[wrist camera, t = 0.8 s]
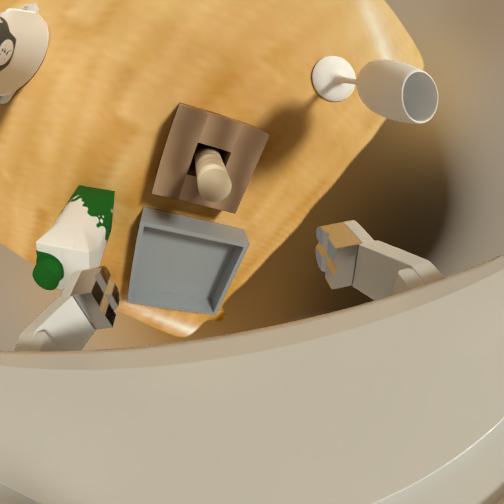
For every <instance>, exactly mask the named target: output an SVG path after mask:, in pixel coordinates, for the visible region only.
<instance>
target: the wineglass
mask: <svg viewBox="0 0 504 504" xmlns="http://www.w3.org/2000/svg"><path fill="white" fill-rule="evenodd" d="M312 81H313V85H314V87H315V89H316V91H317V92H318V94H319V95H320V96H322V97H323V98H324V99H326V100H329V101H333V102H338V101H342V100H345V99H346V98H348V97H349V96H350V95H351V94H352V92H353V90H354V88H355V85H357V90H358V94H359V96H360V98H361V100H362V101H363V103H364V104H365V105H366V106H367V107H368V108H369V109H370V110H372V111H373V112H375V113H377V114H379V115H381V116H383V117H386V118H388V119H392V120H396V121H400V122H406V123H418V124H421V123H425V122H427V121H429V120H430V119H431V118H432V117H433V115H434V114H435V112H436V109H437V106H438V91H437V87H436V84H435V83H434V80H433V79H432V78H431V76H430V75H429V74H427V73H426V72H425V71H423V70H421V69H419V68H417V67H414V66H412V65H409V64H407V63H404V62H400V61H395V60H375V61H372V62H369V63H368V64H366V65H365V66H364V67H363V68H362V69H361V70H360V72H359V74H358V77H357V79H356V77H355V73H354V70H353V68H352V67H351V65H350V64H349V63H348V62H347V61H346V60H344V59H343V58H341V57H337V56H327V57H324V58H322V59H321V60H319V61H318V62H317V64H316V65H315V67H314V69H313V73H312Z"/></svg>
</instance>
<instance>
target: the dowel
mask: <svg viewBox="0 0 504 504" xmlns="http://www.w3.org/2000/svg"><path fill="white" fill-rule="evenodd" d="M194 156H195V166H196V175H197V183H198V191H199V193H200V195H201V197H202V198H204V199H205V200H207V201H210V202H218V201H221V200H223V199H225V198H226V197H227V196H228V195H229V193H230V191H231V188H232V184H231V180H230V178H229V175H228V173H227V170H226V168H225V166H224V163H223V161H222V158H221V156H220V153H219V151H218V149H217V148H215V147H212V146H209V145H205V144H200V145H199V146H198V147H197V148H196V149H195V153H194Z"/></svg>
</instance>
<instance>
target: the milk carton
mask: <svg viewBox="0 0 504 504" xmlns="http://www.w3.org/2000/svg"><path fill="white" fill-rule="evenodd" d="M114 193H115V191H110V190H104V189H98V188H92V187H85V186H78V188H77V189H76V191H75V192H74V194H73V195H72V197H71V198H70V200H69V201H68V203H67V204H66V206H65V207H64V209H63V210H62V212H61V213H60V215H59V216H58V218H57V219H56V221H55V222H54V224H53V225H52V227H51V228H50V230H49V231H47V232H46V233H45V234H44V235H43V236H42V237H41V238H40V239H39V240H38V241H37V242H36V246H37V250H36V252H37V260H36V263H37V264H36V266H35V268H34V270H33V278H34V280H35V282H36V283H37V284H38V285H39V286H40V287H42V288H44V289H46V290H53V289H60V290H64V288H65V286H66V284H67V282H68V280H69V278H70V276H71V274H72V273H73V272H75V271H79V270H84V269H90V268H95V267H99V265H100V262H101V259H102V256H103V253H104V250H105V247H106V244H107V241H108V238H109V235H110V232H111V227H112V217H113V205H114Z"/></svg>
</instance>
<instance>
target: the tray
mask: <svg viewBox="0 0 504 504" xmlns="http://www.w3.org/2000/svg"><path fill="white" fill-rule="evenodd" d="M249 245H250V244H249V242H248V239H247V236H246V233H245V231H244V229H239V228H235V227H231V226H227V225H222V224H218V223H214V222H210V221H205V220H201V219H197V218H192V217H188V216H183V215H179V214H174V213H170V212H165V211H161V210H156V209H152V208H147V207H144V208H143V212H142V216H141V220H140V225H139V230H138V235H137V241H136V246H135V252H134V258H133V264H132V270H131V277H130V284H129V292H128V300H127V302H129V303H135V304H141V305H146V306H153V307H159V308H165V309H172V310H179V311H186V312H194V313H201V314H210V315H216V314H217V312H218V310H219V308H220V305H221V303H222V301H223V299H224V297H225V295H226V293H227V291H228V289H229V287H230V284H231V282H232V280H233V278H234V276H235V274H236V272H237V270H238V268H239V266H240V263H241V261H242V259H243V257H244V255H245V253H246V251H247V249H248V247H249Z"/></svg>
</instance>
